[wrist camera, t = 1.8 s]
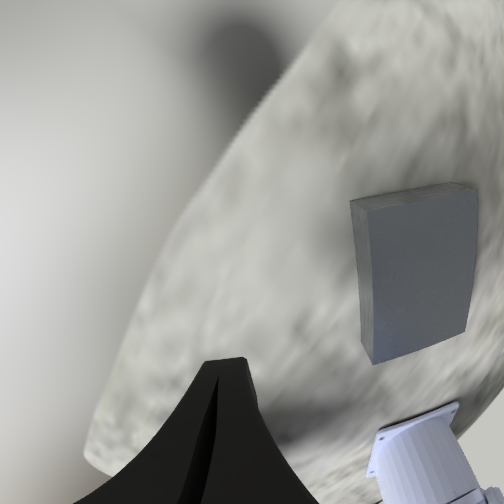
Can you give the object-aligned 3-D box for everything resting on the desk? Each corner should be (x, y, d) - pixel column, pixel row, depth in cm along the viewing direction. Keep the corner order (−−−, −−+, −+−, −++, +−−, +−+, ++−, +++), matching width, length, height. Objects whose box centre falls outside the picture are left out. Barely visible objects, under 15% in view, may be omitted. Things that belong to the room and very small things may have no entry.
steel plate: (444, 310, 15) (464, 331, 13) (359, 337, 16) (372, 365, 13) (447, 181, 13) (477, 190, 10) (346, 199, 13) (366, 211, 11)
